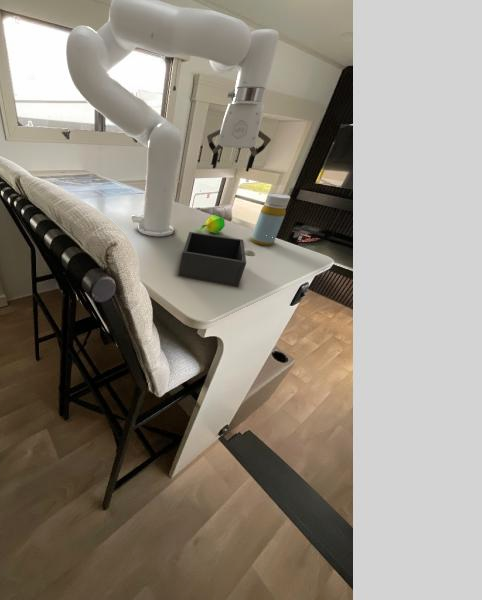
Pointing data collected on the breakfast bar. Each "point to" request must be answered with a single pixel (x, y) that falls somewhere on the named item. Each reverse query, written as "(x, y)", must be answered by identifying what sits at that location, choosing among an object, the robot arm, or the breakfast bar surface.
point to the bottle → (270, 219)
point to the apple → (214, 224)
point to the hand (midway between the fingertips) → (230, 169)
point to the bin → (213, 259)
